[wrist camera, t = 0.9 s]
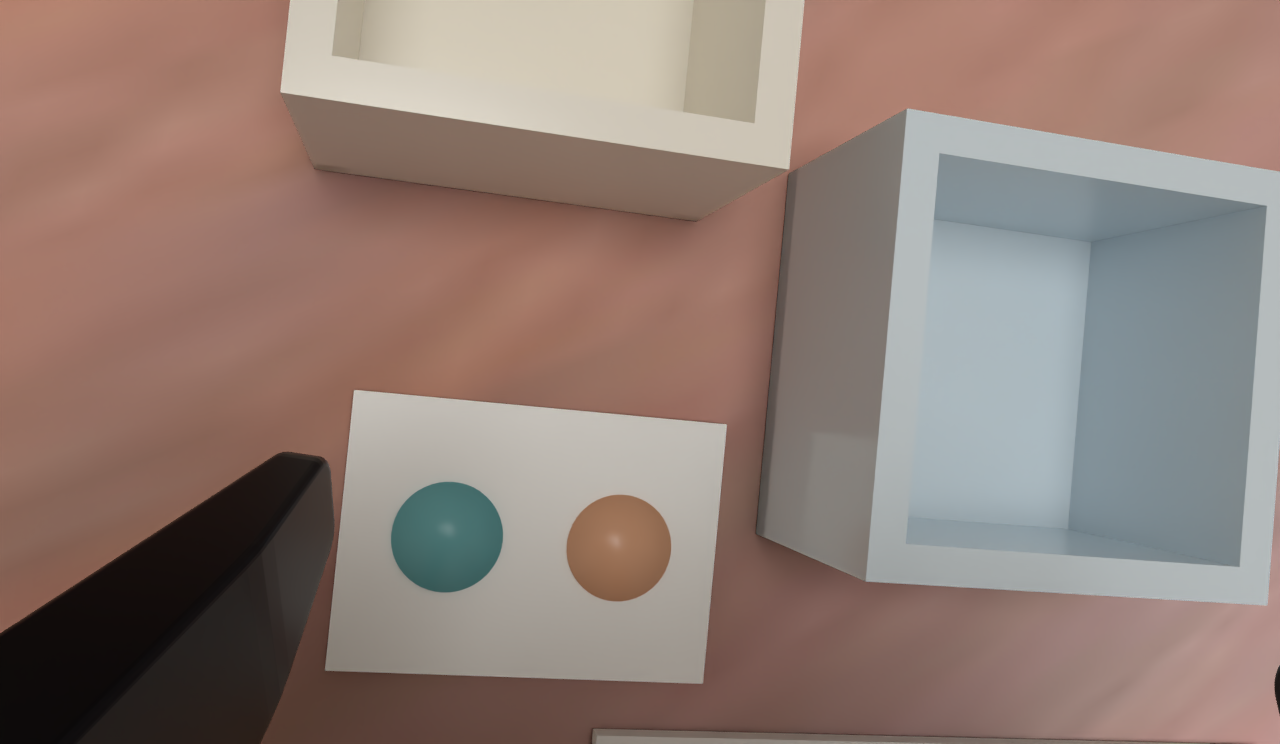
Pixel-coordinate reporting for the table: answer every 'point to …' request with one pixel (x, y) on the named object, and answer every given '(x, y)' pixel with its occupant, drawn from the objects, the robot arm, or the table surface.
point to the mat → (804, 738)
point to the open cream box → (550, 96)
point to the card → (524, 542)
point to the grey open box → (1027, 365)
